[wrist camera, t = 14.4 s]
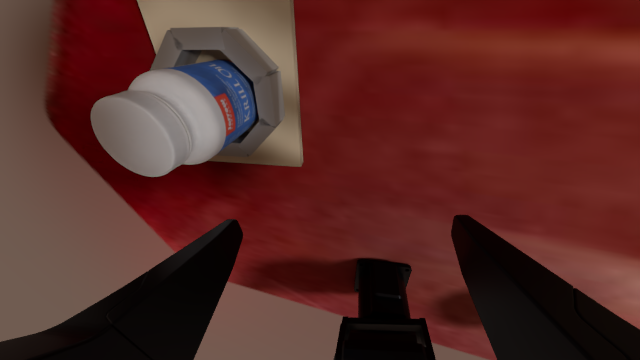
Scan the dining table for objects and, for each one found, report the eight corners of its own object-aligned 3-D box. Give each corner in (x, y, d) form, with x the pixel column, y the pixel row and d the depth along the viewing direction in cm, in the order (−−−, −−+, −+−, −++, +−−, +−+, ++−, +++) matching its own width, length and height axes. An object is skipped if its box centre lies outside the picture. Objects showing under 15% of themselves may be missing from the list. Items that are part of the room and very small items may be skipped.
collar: (303, 161, 22) (294, 181, 19) (199, 155, 24) (177, 172, 21) (292, -11, 15) (276, -21, 12) (145, -5, 17) (100, -12, 14)
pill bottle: (278, 108, 19) (213, 167, 11) (232, 137, 21) (150, 204, 13) (234, 41, 16) (110, 51, 8) (188, 80, 19) (54, 119, 11)
